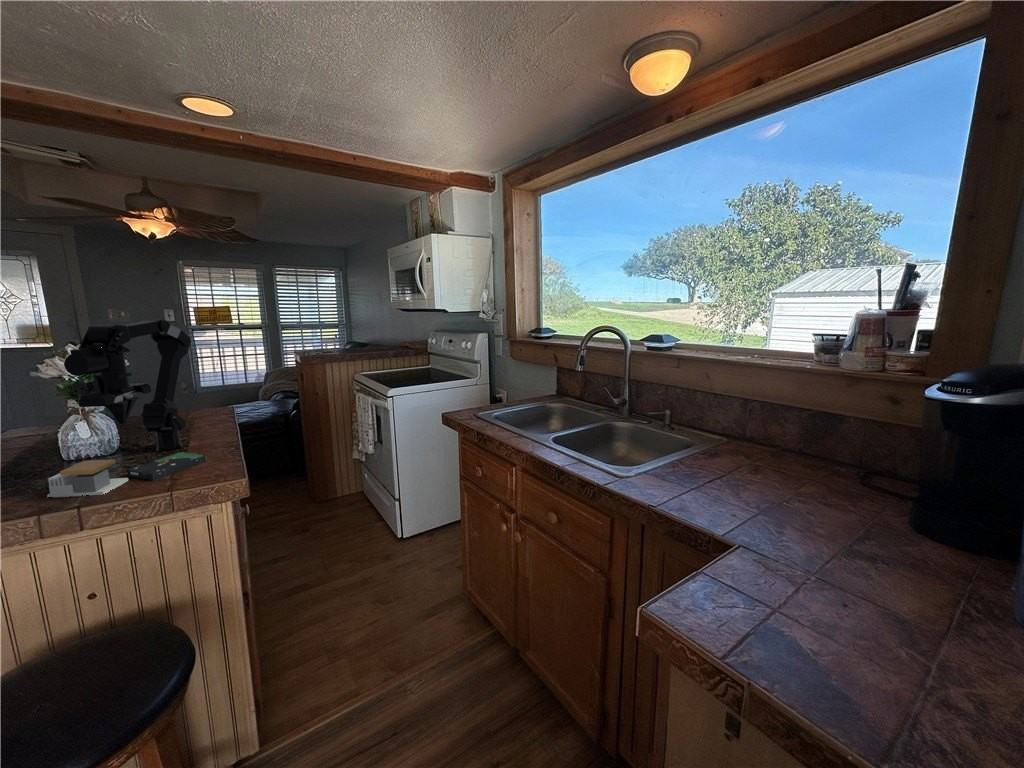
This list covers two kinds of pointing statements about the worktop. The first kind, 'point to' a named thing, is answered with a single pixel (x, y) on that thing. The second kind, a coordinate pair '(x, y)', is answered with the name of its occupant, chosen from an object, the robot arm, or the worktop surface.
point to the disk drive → (166, 466)
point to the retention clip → (88, 467)
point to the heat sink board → (83, 484)
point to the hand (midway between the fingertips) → (122, 423)
